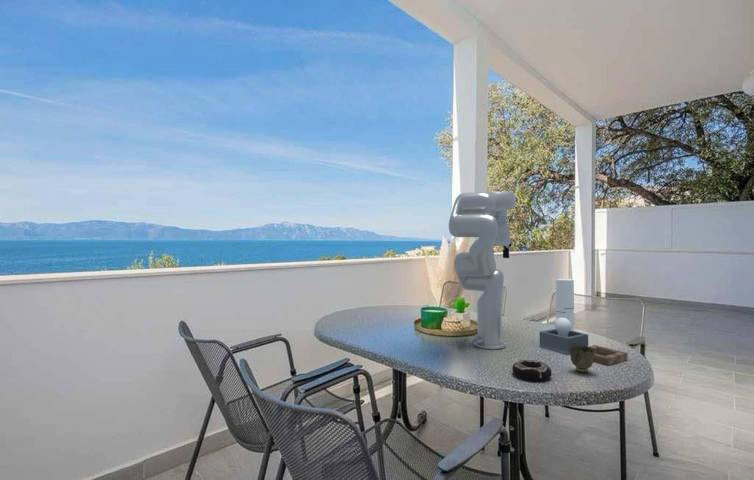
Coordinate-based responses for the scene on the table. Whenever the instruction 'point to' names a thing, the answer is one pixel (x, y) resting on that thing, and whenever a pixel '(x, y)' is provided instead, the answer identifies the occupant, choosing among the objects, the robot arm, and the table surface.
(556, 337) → the grey open box
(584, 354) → the cup
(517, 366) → the donut
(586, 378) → the table surface
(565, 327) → the lightbulb
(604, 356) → the socket block
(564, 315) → the cylindrical container
